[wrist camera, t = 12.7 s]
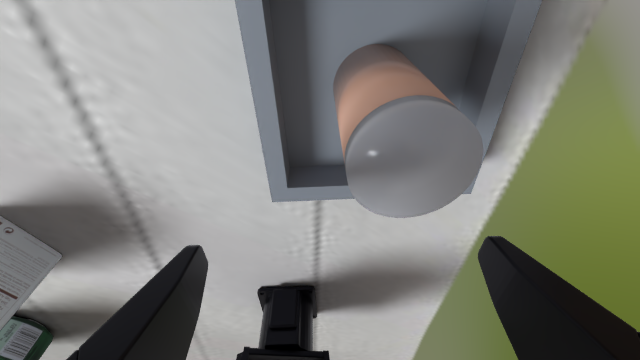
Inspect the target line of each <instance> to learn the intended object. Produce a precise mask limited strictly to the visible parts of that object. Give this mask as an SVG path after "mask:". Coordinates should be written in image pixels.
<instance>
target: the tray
mask: <svg viewBox="0 0 640 360" xmlns="http://www.w3.org/2000/svg"><path fill="white" fill-rule="evenodd" d="M541 2H542V0H235V4H236V9H237V14H238V20H239V25H240V31H241V36H242V41H243V47H244V52H245V58H246V63H247V68H248V74H249V79H250V85H251V90H252V95H253V101H254V106H255V112H256V117H257V122H258V128H259V133H260V139H261V144H262V149H263V155H264V160H265V166H266V171H267V177H268V182H269V187H270V193H271V198H272V202H286V201H310V200H333V199H355V198H354V196H353V195H352V193H351V191H350V188H349V186H348V181H347V176H346V170H345V163H344V157H343V151H342V145H341V138H340V132H339V126H338V120H337V113H336V107H335V101H334V95H333V83H334V78H335V75H336V72H337V70H338V68H339V66H340V65H341V63H342V62H343V61H344V60H345V58H346V57H347V56H349V55H350V54H351V53H352V52H354V51H355V50H357V49H359V48H361V47H364V46H367V45H371V44H384V45H389V46H392V47H394V48H396V49H398V50H399V51H400V52H402V53H403V54H404V55H405V56H406V57H407V58H408V59H409V60H410V61H411V62H412V63H413V64H414V65H415V66H416V67H417V68H418V69H419V70H420V71H421V72H422V73H423V74H424V75H425V76H426V77H427V78H428V79H429V80H430V81H431V82H432V83H433V84H434V85H435V86H436V87H437V88H438V89H439V90H440V91H441V92H442V93H443V94H444V95H445V96H446V97H447V98H448V99H449V100H450V101H451V102H452V103H453V104H454V105H455V106H456V107H457V108H458V109H459V110H460V111H461V112H462V113H463V114H464V115H465V116H466V117H467V118H468V119H469V120H470V121H471V122H472V123H473V124H474V125H475V127H476V128H477V130H478V131H479V133H480V136H481V138H482V143H483V159H484V157H485V154H486V151H487V149H488V146H489V143H490V141H491V138H492V135H493V132H494V130H495V127H496V124H497V122H498V119H499V116H500V113H501V111H502V108H503V105H504V103H505V100H506V97H507V94H508V92H509V89H510V86H511V84H512V81H513V78H514V75H515V73H516V70H517V67H518V65H519V62H520V59H521V56H522V54H523V51H524V48H525V46H526V43H527V40H528V38H529V35H530V32H531V29H532V27H533V24H534V21H535V19H536V16H537V13H538V10H539V8H540V5H541ZM483 159H482V162H483ZM481 165H482V163H481ZM480 168H481V166H480ZM479 170H480V169H479ZM478 173H479V171H478ZM478 173H477V175H476V177H475V179H474V180H473V182H472V183H471V184H470V186H469V187H468V188H467V189H466V190H465V191H464V192H463V193H462V194H471V192H472V189H473V187H474V184H475V181H476V178H477V176H478Z"/></svg>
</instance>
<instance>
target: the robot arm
mask: <svg viewBox="0 0 640 360" xmlns="http://www.w3.org/2000/svg"><path fill="white" fill-rule="evenodd" d="M478 260H479V263H480V266H481V269H482V272H483V275H484V278H485V281H486V284H487V287H488V290H489V293H490V296H491V299H492V302H493V304H494V307H495V309H496V311H497V314H498V316H499V318H500V320H501V323H502V325H503V327H504V329H505V331H506V333H507V336H508V338H509V340H510V342H511V344H512V346H513V349H514V351H515V353H516V355H517V357H518V360H640V332H637V331H636V329H634V328H633V327H631V326H630V325H629V324H627V323H626V322H624V321H623V320H621V319H620V318H619V317H617V316H616V315H614V314H613V313H611V312H610V311H608V310H607V309H605V308H604V307H603V306H601V305H600V304H598V303H597V302H595V301H594V300H593V299H591V298H590V297H588V296H587V295H585V294H584V293H582V292H581V291H580V290H578V289H577V288H575V287H574V286H572V285H571V284H570V283H568V282H567V281H565V280H563V279H562V278H561V277H559V276H558V275H557V274H555V273H553V272H552V271H550V270H549V269H548V268H546V267H545V266H543V265H542V264H541V263H539V262H538V261H536V260H535V259H533V258H532V257H531V256H529V255H528V254H526V253H525V252H523V251H522V250H520V249H519V248H518V247H516V246H515V245H513V244H512V243H510V242H509V241H507V240H506V239H505V238H503V237H501V236H488V237H487V238H485V240H484V242H483V244H482V246H481V248H480V250H479V253H478ZM207 271H208V261H207V258H206V256H205V253H204V251H203V248H202V247H201V246H200V245H189V246H186V247H185V248H184V249H183V250H182V251H181V252H180V253H178V254H177V255H176V256H175V257H174V258H173V259H172V260H171V261H170V262H169V263H168V264H167V265H166V266H165V267H164V268H163V269H162V270H161V271H159V272H158V273H157V274H156V275H155V276H154V277H153V278H152V279H151V280H150V281H149V282H148V283H147V284H146V285H145V286H144V287H143V288H142V289H140V290H139V291H138V292H137V293H136V294H135V295H134V296H133V297H132V298H131V299H130V300H129V301H128V302H127V303H126V304H125V305H124V306H123V307H121V308H120V309H119V310H118V311H117V312H116V313H115V314H114V315H113V316H112V317H111V318H110V319H109V320H108V321H107V322H106V323H105V324H104V325H102V326H101V327H100V328H99V329H98V330H97V331H96V332H95V333H94V334H93V335H92V336H91V337H90V338H89V339H88V340H87V341H86V342H85V343H83V344H82V345H81V346H80V347H79V350H76V351H75V352H74V353H73V354H72V355H71V356H70V357H69V358H67V359H66V360H186V357H187V354H188V350H189V347H190V344H191V340H192V337H193V334H194V331H195V327H196V324H197V320H198V317H199V313H200V308H201V303H202V297H203V292H204V287H205V281H206V276H207ZM258 297H259V300H260V304H261V307H262V310H263V319H262V326H261V333H260V340H259V347H258V348H250V347H244V351H243V352H242V353H240V354H237V359H236V360H330V359H329V351H323V352H322V351H313V318H316V317H317V308H316V297H315V288H314V287H312V286H303V287H278V288H260V289H258Z"/></svg>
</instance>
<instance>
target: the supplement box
mask: <svg viewBox="0 0 640 360" xmlns="http://www.w3.org/2000/svg"><path fill="white" fill-rule="evenodd" d="M61 258H62V255H61V254H60V253H59V252H57V251H56V250H54V249H53V248H51V247H50V246H48V245H46V244H45V243H43V242H42V241H40V240H38V239H37V238H35V237H34V236H32V235H31V234H29V233H27V232H26V231H24V230H23V229H21V228H19V227H18V226H16V225H15V224H13V223H11V222H10V221H8V220H7V219H5V218H3V217H2V216H0V330H1V329H2V328H3V327H4V325H5V324H6V323H7V322H8V321H9V320H10V318H11V317H12V316H13V315H14V314H15V312H16V311H17V310H18V309H19V308H20V307H21V305H22V304H23V303H24V302H25V301H26V299H27V298H28V297H29V296H30V295H31V293H32V292H33V291H34V290H35V289H36V288H37V286H38V285H39V284H40V283H41V282H42V280H43V279H44V278H45V277H46V276H47V274H48V273H49V272H50V271H51V269H52V268H53V267H54V266H55V265H56V264H57V262H58V261H59V260H60V259H61Z"/></svg>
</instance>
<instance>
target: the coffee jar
mask: <svg viewBox="0 0 640 360" xmlns="http://www.w3.org/2000/svg"><path fill="white" fill-rule="evenodd" d="M52 339H53V336H52V334H51V333H50V332H49V331H48V330H47V329H46V328H45V327H44V326H43V325H42V324H40V323H38V322H36V321H33V320H31V319H23V318H19V317H15V316H12V317H11V318H10V320H9V321H8V322H7V323H6V324H5V325H4V327H3V328H2V329H1V330H0V360H39V359H40V357H41V356H42V355H43V353H44V352H45V350H46V349H47V347H48V346H49V345H50V343H51V342H52Z"/></svg>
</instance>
